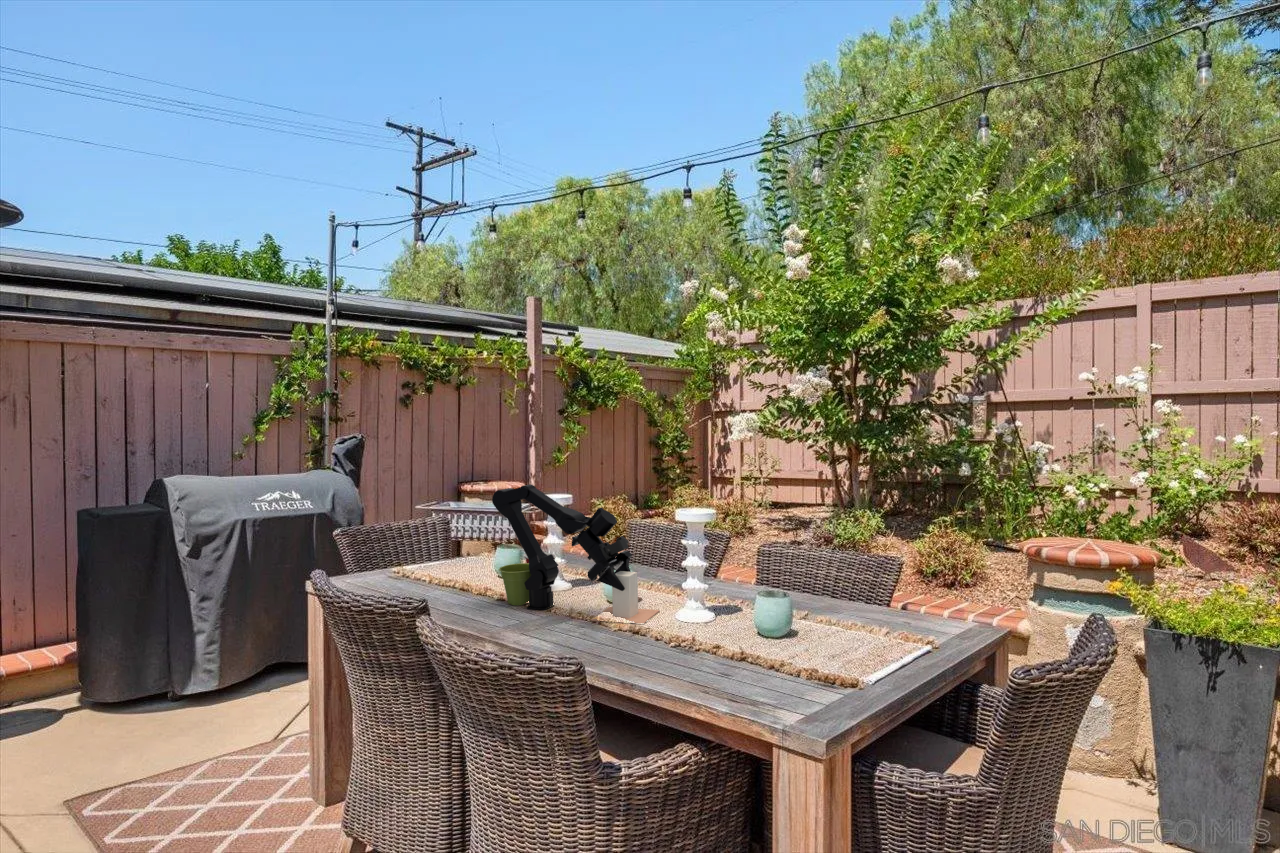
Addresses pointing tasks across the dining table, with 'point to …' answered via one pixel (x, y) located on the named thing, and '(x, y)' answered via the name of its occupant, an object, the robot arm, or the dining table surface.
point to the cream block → (626, 595)
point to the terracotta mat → (638, 618)
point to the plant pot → (516, 582)
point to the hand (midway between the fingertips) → (629, 587)
